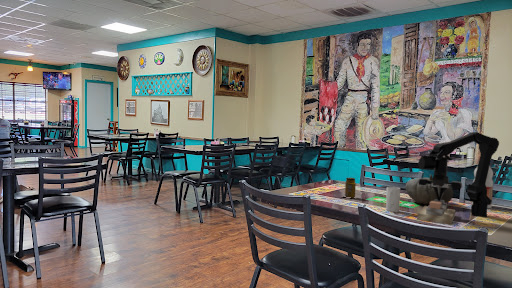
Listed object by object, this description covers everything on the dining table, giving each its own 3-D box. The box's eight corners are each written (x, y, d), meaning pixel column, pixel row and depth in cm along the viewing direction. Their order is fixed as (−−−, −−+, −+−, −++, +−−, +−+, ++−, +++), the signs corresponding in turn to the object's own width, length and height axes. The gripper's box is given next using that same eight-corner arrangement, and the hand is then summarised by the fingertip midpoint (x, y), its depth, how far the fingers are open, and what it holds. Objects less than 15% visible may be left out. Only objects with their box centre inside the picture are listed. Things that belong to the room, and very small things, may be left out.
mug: (387, 208, 196) (388, 186, 195) (400, 210, 192) (401, 187, 191) (382, 212, 187) (383, 188, 187) (395, 214, 184) (396, 190, 183)
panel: (455, 216, 182) (455, 204, 182) (450, 224, 166) (451, 211, 166) (424, 211, 190) (424, 200, 190) (417, 219, 174) (417, 206, 173)
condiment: (358, 197, 224) (358, 178, 223) (350, 199, 218) (351, 179, 217) (347, 196, 229) (348, 176, 229) (339, 197, 223) (340, 178, 223)
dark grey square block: (444, 206, 183) (444, 200, 183) (443, 207, 180) (443, 201, 180) (434, 205, 186) (434, 199, 186) (433, 206, 182) (433, 200, 182)
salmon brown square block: (441, 208, 173) (441, 202, 173) (439, 210, 170) (440, 203, 170) (430, 207, 176) (431, 200, 176) (429, 208, 172) (429, 202, 172)
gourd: (401, 200, 206) (406, 169, 207) (405, 200, 228) (409, 172, 229) (451, 210, 194) (456, 178, 195) (450, 209, 216) (455, 180, 217)
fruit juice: (495, 208, 202) (498, 157, 201) (480, 208, 201) (483, 157, 199) (482, 204, 212) (485, 156, 210) (467, 205, 210) (470, 156, 209)
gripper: (417, 169, 180) (415, 200, 181) (460, 172, 170) (458, 205, 171) (421, 167, 190) (419, 197, 190) (462, 170, 179) (461, 202, 180)
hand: (439, 200), depth 183 cm, fingers closed, pressing on dark grey square block
